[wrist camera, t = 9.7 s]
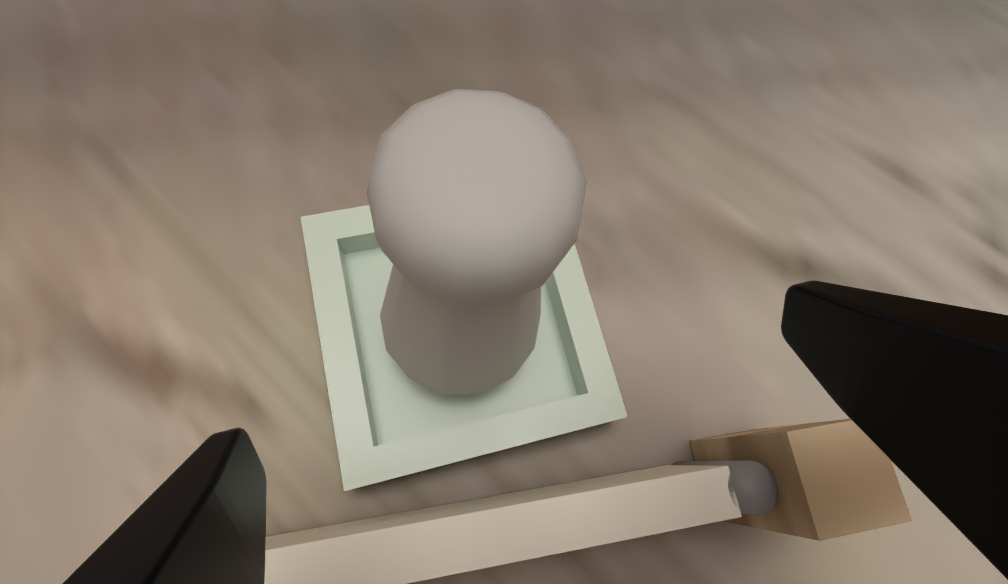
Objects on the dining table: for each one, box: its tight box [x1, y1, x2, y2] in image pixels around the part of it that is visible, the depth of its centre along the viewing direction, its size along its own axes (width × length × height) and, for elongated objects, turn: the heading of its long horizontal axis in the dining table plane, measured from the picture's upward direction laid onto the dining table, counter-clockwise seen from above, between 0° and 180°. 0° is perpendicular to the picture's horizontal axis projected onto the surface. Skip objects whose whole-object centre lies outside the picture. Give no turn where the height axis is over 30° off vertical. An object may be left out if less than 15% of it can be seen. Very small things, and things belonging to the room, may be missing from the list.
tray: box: [301, 205, 628, 491], centre depth 22 cm, size 10×10×2 cm
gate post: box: [690, 419, 912, 541], centre depth 19 cm, size 3×3×7 cm
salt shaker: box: [367, 89, 587, 395], centre depth 16 cm, size 6×6×13 cm
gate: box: [264, 461, 777, 584], centre depth 18 cm, size 2×20×5 cm, turn 100°
